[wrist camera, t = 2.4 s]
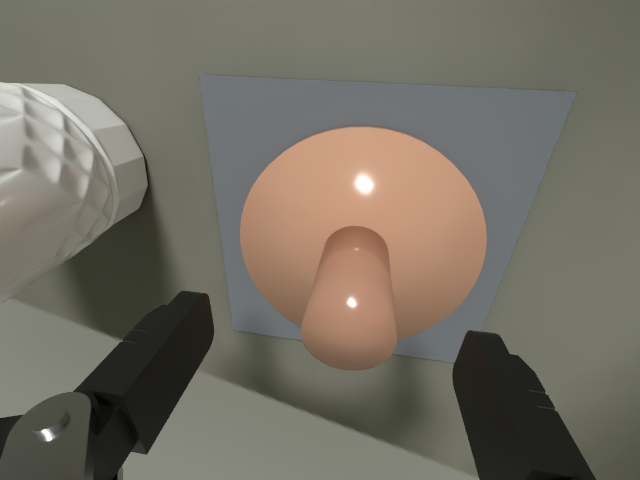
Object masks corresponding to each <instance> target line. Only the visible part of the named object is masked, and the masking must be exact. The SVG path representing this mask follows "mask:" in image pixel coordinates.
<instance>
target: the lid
mask: <svg viewBox="0 0 640 480" xmlns="http://www.w3.org/2000/svg"><path fill="white" fill-rule="evenodd" d="M486 243H487V234H486V223H485V219H484V215H483V210H482V207H481V205H480V203H479V200H478V198H477V195H476V193H475V192H474V190H473V188H472V187H471V185H470V184H469V182H468V180H467V179H466V178H465V177H464V176H463V174H462V173H461V172H460V171H459V170H458V169H457V167H456V166H455V165H454V164H453V163H452V162H451V161H450V160H449V159H448V158H447V157H446V156H444V155H443V154H442V153H441V152H440V151H438V150H437V149H436V148H434V147H433V146H431V145H430V144H428V143H426V142H425V141H423V140H421V139H419V138H417V137H415V136H412V135H410V134H408V133H405V132H402V131H399V130H395V129H391V128H387V127H380V126H372V125H350V126H343V127H337V128H331V129H328V130H325V131H321V132H318V133H315V134H313V135H311V136H309V137H307V138H304V139H302V140H300V141H299V142H297V143H296V144H294V145H293V146H291V147H289V148H288V149H287V150H285V151H284V152H283V153H282V154H281V155H280V156H278V157H277V158H276V159H275V160H274V161H273V162H271V163H270V164H269V165H268V166H267V168H266V169H265V170H264V171H263V172H262V173H261V175H260V176H259V177H258V179H257V180H256V182H255V183H254V185H253V187H252V188H251V190H250V192H249V194H248V197H247V199H246V201H245V204H244V208H243V212H242V216H241V224H240V244H241V250H242V256H243V259H244V262H245V265H246V268H247V270H248V273H249V275H250V277H251V279H252V281H253V282H254V284H255V286H256V287H257V289H258V290H259V292H260V293H261V294H262V295H263V297H264V298H265V299H266V300H267V301H268V302H269V303H270V304H271V305H272V306H273V307H274V308H275V309H276V310H277V311H278V312H279V313H281V314H282V315H283V316H284V317H286V318H287V319H289V320H290V321H292V322H293V323H295V324H296V325H298V326H300V327H301V337H302V341H303V343H304V345H305V347H306V348H307V350H308V351H309V352H310V353H311V354H312V355H313V356H314V357H315V358H317V359H318V360H320V361H321V362H323V363H325V364H327V365H329V366H332V367H335V368H338V369H343V370H364V369H369V368H373V367H375V366H378V365H380V364H381V363H383V362H384V361H386V360H387V359H388V358H389V357H390V356H391V355H392V353H393V352H394V350H395V347H396V344H397V339H401V338H404V337H408V336H411V335H414V334H416V333H419V332H421V331H423V330H426V329H428V328H429V327H431V326H433V325H435V324H436V323H438V322H440V321H441V320H442V319H444V318H445V317H446V316H448V315H449V314H450V313H451V312H452V311H454V310H455V309H456V308H457V307H458V306H459V305H460V304H461V303H462V301H463V300H464V299H465V298H466V297H467V295H468V294H469V292H470V291H471V289H472V288H473V286H474V284H475V283H476V281H477V278H478V276H479V274H480V272H481V269H482V266H483V262H484V258H485V254H486Z"/></svg>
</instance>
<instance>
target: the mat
mask: <svg viewBox="0 0 640 480" xmlns="http://www.w3.org/2000/svg"><path fill="white" fill-rule="evenodd" d="M199 80H200V87H201V95H202V102H203V109H204V117H205V124H206V132H207V139H208V146H209V154H210V161H211V169H212V176H213V183H214V191H215V198H216V206H217V213H218V220H219V228H220V235H221V243H222V250H223V257H224V265H225V272H226V280H227V287H228V294H229V302H230V309H231V317H232V324H233V330H235V331H242V332H248V333H255V334H262V335H269V336H275V337H282V338H289V339H296V340H302V337H301V327H300V326H298V325H296V324H295V323H293V322H292V321H290V320H289V319H287V318H286V317H284V316H283V315H282V314H281V313H279V312H278V311H277V310H276V309H275V308H274V307H273V306H272V305H271V304H270V303H269V302H268V301H267V300H266V299H265V298H264V297H263V295H262V294H261V293H260V292H259V290H258V289H257V287H256V286H255V284H254V282H253V281H252V279H251V277H250V275H249V273H248V270H247V268H246V265H245V262H244V259H243V256H242V250H241V244H240V224H241V216H242V212H243V208H244V204H245V201H246V199H247V197H248V194H249V192H250V190H251V188H252V187H253V185H254V183H255V182H256V180H257V179H258V177H259V176H260V175H261V173H262V172H263V171H264V170H265V169H266V168H267V166H268V165H269V164H270V163H271V162H273V161H274V160H275V159H276V158H277V157H278V156H280V155H281V154H282V153H283V152H284V151H285V150H287V149H288V148H289V147H291V146H293V145H294V144H296V143H297V142H299V141H300V140H302V139H304V138H307V137H309V136H311V135H313V134H315V133H318V132H321V131H325V130H328V129H331V128H337V127H343V126H350V125H372V126H380V127H387V128H391V129H395V130H399V131H402V132H405V133H408V134H410V135H412V136H415V137H417V138H419V139H421V140H423V141H425V142H426V143H428V144H430V145H431V146H433V147H434V148H436V149H437V150H438V151H440V152H441V153H442V154H443V155H444V156H446V157H447V158H448V159H449V160H450V161H451V162H452V163H453V164H454V165H455V166H456V167H457V169H458V170H459V171H460V172H461V173H462V174H463V176H464V177H465V178H466V179H467V180H468V182H469V184H470V185H471V187H472V188H473V190H474V192H475V193H476V195H477V198H478V200H479V203H480V205H481V207H482V210H483V215H484V219H485V223H486V234H487V243H486V254H485V258H484V262H483V266H482V269H481V272H480V274H479V276H478V278H477V281H476V283H475V284H474V286H473V288H472V289H471V291H470V292H469V294H468V295H467V297H466V298H465V299H464V300H463V301H462V303H461V304H460V305H459V306H458V307H457V308H456V309H455V310H454V311H452V312H451V313H450V314H449V315H448V316H446V317H445V318H444V319H442V320H441V321H440V322H438V323H436V324H435V325H433V326H431V327H429V328H428V329H426V330H423V331H421V332H419V333H416V334H414V335H411V336H408V337H404V338H401V339H397V344H396V347H395V350H394V352H393V353H392V354H396V355H403V356H410V357H417V358H423V359H430V360H437V361H444V362H450V363H455V361H456V358H457V355H458V353H459V350H460V347H461V345H462V342H463V340H464V337H465V335H466V333H467V331H469V330H473V331H481V330H482V328H483V325H484V323H485V320H486V318H487V315H488V313H489V310H490V308H491V305H492V303H493V300H494V298H495V295H496V293H497V290H498V288H499V285H500V283H501V280H502V278H503V275H504V273H505V270H506V268H507V265H508V263H509V260H510V258H511V255H512V253H513V250H514V248H515V245H516V243H517V240H518V238H519V236H520V233H521V231H522V228H523V226H524V223H525V221H526V218H527V216H528V213H529V211H530V208H531V206H532V203H533V201H534V198H535V196H536V193H537V191H538V188H539V186H540V183H541V181H542V178H543V176H544V173H545V171H546V168H547V166H548V163H549V161H550V158H551V156H552V153H553V151H554V148H555V146H556V143H557V141H558V138H559V136H560V133H561V131H562V128H563V126H564V123H565V121H566V118H567V116H568V113H569V111H570V108H571V106H572V103H573V101H574V98H575V96H576V93H577V92H570V91H549V90H527V89H505V88H483V87H461V86H438V85H416V84H394V83H372V82H350V81H328V80H306V79H284V78H262V77H240V76H218V75H199Z"/></svg>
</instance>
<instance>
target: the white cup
mask: <svg viewBox="0 0 640 480" xmlns="http://www.w3.org/2000/svg"><path fill="white" fill-rule="evenodd" d="M147 187H148V181H147V174H146V168H145V161H144V156H143V154H142V152H141V150H140V148H139V146H138V145H137V143H136V141H135V139H134V137H133V135H132V134H131V132H130V130H129V128H128V126H127V125H126V124H125V123H124V122H123V121H122V120H121V119H120V118H119V117H118V116H117V115H116V114H115V113H114V112H112V111H111V110H110V109H109V108H108V107H107V106H106V105H105V104H104V103H103V102H102V101H101V100H100V99H98V98H96V97H94V96H91V95H89V94H87V93H84V92H82V91H80V90H77V89H75V88H72V87H70V86H68V85H63V84H27V83H2V82H0V305H1V304H2V303H4V302H5V301H7V300H8V299H10V298H12V297H13V296H14V295H16V294H17V293H19V292H20V291H22V290H23V289H25V288H26V287H28V286H29V285H31V284H32V283H34V282H35V281H37V280H38V279H40V278H41V277H43V276H44V275H46V274H47V273H49V272H50V271H52V270H53V269H55V268H56V267H58V266H60V265H61V264H63V263H64V262H66V261H67V260H69V259H70V258H72V257H73V256H74V255H76V254H77V253H78V252H79V251H81V250H82V249H83V248H85V247H86V246H88V245H90V244H91V243H93V242H94V241H96V239H97V238H98V237H99V236H100V235H101V234H102V233H103V232H105V231H106V230H107V229H109V228H110V227H111V226H113V225H115V224H116V223H118V222H119V221H121V220H122V219H124V218H125V217H127V216H128V215H130V214H131V213H133V212H134V211H136V210H137V209H139V208H140V206H141V203H142V200H143V198H144V195H145V192H146V189H147Z"/></svg>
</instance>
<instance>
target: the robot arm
mask: <svg viewBox="0 0 640 480" xmlns="http://www.w3.org/2000/svg"><path fill="white" fill-rule="evenodd" d="M213 336H214V325H213V319H212V312H211V306H210V300H209V296H208V295H207V294H205V293H198V292H190V291H181V292H180V293H179V294H178V295H177V296H176V297H175V298H174V299H173V300H172V302H171V303H170V304H169V305H161V306H160V307H158V308H157V309H155V310H153V311H152V312H150V313H148V314H147V315H146V316H145V317H144V318H143V319H142V320H141V321H140V322H139V323H138V324H137V325H136V326H135V327H134V330H133V331H130V333H129V334H128V335H127V336H126V337H125V338H124V339H123V342H120V343H119V344H118V345H117V346H116V347H115V348H114V349H113V351H112V352H111V353H110V354H109V355H108V356H107V357H106V358H105V359H104V360H103V361H102V362H101V363H100V364H99V365H98V366H97V368H96V369H95V370H94V371H93V372H92V373H91V374H90V375H89V376H88V377H87V378H86V379H85V380H84V381H83V382H82V383H81V384H80V385H79V386H78V387H77V388H76V389H75V390H74V391H73V392H67V393H62V394H59V395H55V396H53V397H50V398H48V399H46V400H44V401H42V402H41V403H39V404H37V405H36V406H34V407H33V408H31V409H30V410H29V411H28V412H26V413H25V414H24V415H18V416H11V417H5V418H0V480H123V467H122V465H123V463H124V461H125V460H126V458H127V457H128V455H129V454H130V452H136V453H141V454H147V453H148V452H149V450H150V448H151V447H152V445H153V443H154V442H155V440H156V438H157V436H158V435H159V433H160V431H161V429H162V428H163V426H164V425H165V423H166V421H167V420H168V418H169V416H170V414H171V413H172V411H173V409H174V408H175V406H176V404H177V402H178V401H179V399H180V397H181V396H182V394H183V392H184V391H185V389H186V387H187V386H188V384H189V382H190V381H191V379H192V377H193V376H194V374H195V372H196V370H197V369H198V367H199V365H200V364H201V362H202V360H203V359H204V357H205V355H206V354H207V352H208V350H209V348H210V346H211V344H212V341H213ZM453 386H454V390H455V393H456V397H457V400H458V404H459V407H460V411H461V415H462V418H463V422H464V425H465V429H466V432H467V436H468V440H469V443H470V447H471V450H472V454H473V457H474V461H475V465H476V468H477V472H478V475H479V479H480V480H596V478H595V477H594V475H593V473H592V472H591V470H590V468H589V466H588V465H587V463H586V461H585V459H584V458H583V456H582V454H581V452H580V451H579V449H578V447H577V445H576V444H575V442H574V440H573V438H572V437H571V435H570V433H569V431H568V430H567V428H566V426H565V424H564V423H563V421H562V419H561V417H560V416H559V414H558V412H557V411H555V409H554V408H555V407H554V405H553V403H552V402H551V400H550V398H549V396H548V395H546V394H545V389H544V388H543V386H542V384H541V382H540V381H539V379H538V377H537V375H536V374H535V372H534V371H533V370H532V369H531V368H530V367H529V366H528V365H527V364H526V363H525V362H524V361H523V360H522V359H521V358H520V357H519V356H518V355H511V354H509V352H508V350H507V348H506V346H505V344H504V342H503V340H502V338H501V337H500V336H499V335H498V334H496V333H488V332H481V331H473V330H469V331H467V333H466V335H465V337H464V340H463V342H462V345H461V347H460V350H459V353H458V355H457V358H456V361H455V363H454V367H453Z"/></svg>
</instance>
